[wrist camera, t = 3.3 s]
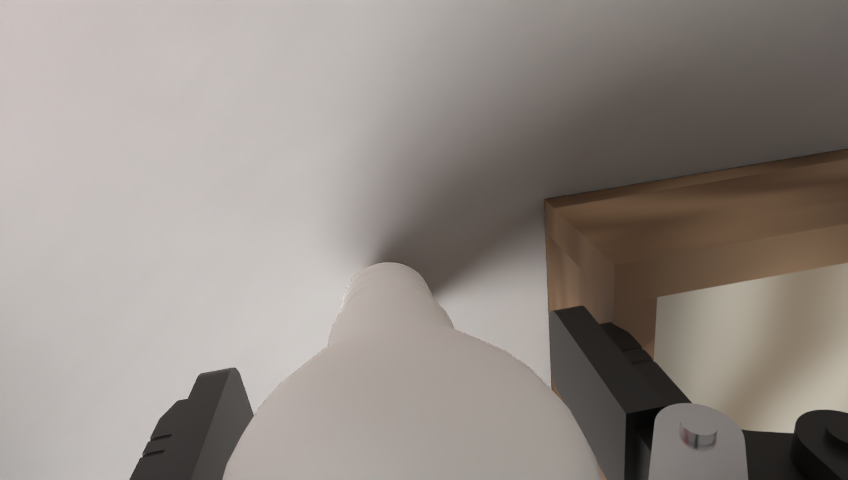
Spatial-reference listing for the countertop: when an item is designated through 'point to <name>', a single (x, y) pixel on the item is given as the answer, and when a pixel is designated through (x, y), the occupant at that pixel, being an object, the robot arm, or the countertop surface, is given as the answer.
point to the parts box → (720, 281)
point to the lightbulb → (409, 402)
